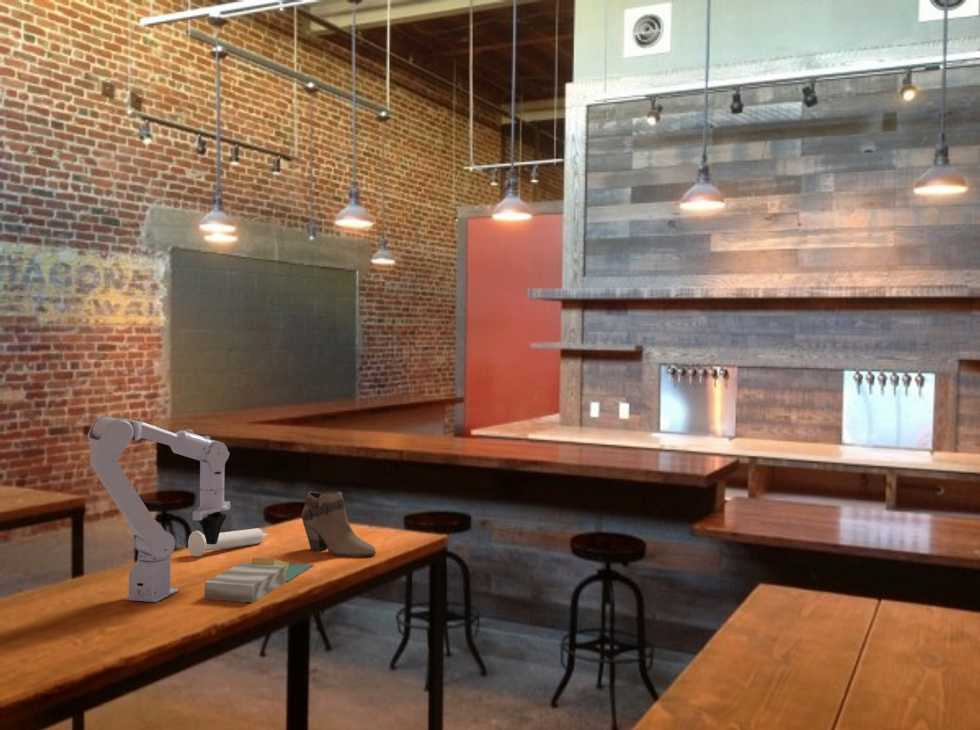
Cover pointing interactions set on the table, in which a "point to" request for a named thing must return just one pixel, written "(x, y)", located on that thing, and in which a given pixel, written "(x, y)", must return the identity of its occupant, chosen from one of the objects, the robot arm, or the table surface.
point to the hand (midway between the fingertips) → (211, 543)
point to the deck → (245, 582)
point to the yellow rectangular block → (269, 562)
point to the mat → (296, 570)
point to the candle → (224, 540)
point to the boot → (331, 526)
